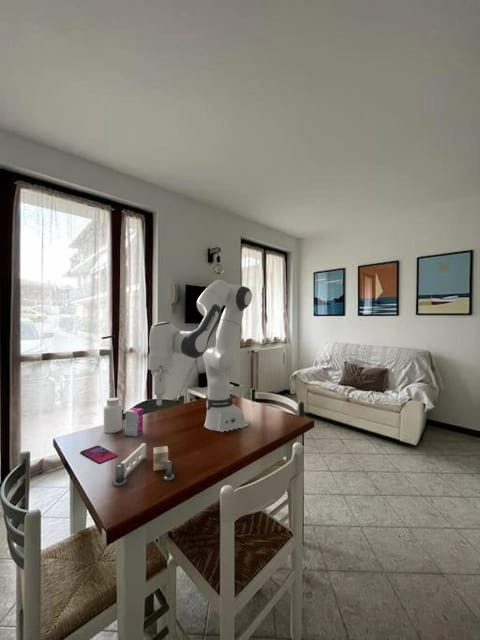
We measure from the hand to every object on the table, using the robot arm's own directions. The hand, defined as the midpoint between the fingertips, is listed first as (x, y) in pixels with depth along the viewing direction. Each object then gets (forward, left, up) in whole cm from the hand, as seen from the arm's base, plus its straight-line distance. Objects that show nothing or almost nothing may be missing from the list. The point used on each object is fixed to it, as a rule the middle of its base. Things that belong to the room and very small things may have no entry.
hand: (158, 401), depth 106 cm
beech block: (-1, +4, -23) cm, 23 cm away
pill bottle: (+20, -37, -23) cm, 48 cm away
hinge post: (+12, +11, -22) cm, 28 cm away
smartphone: (+22, -12, -23) cm, 34 cm away
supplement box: (+10, -29, -23) cm, 38 cm away
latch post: (-3, +13, -22) cm, 26 cm away
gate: (+8, +3, -22) cm, 23 cm away
